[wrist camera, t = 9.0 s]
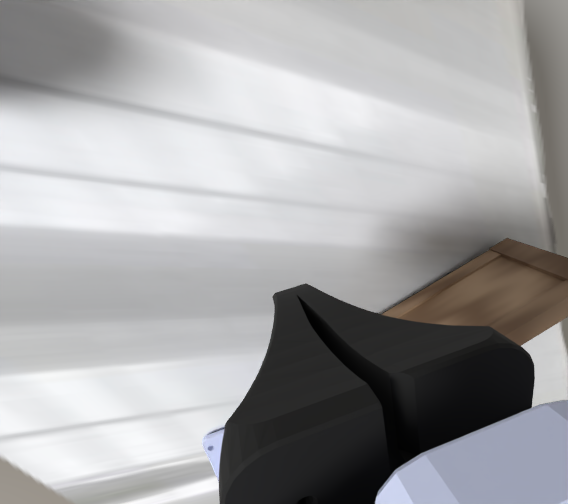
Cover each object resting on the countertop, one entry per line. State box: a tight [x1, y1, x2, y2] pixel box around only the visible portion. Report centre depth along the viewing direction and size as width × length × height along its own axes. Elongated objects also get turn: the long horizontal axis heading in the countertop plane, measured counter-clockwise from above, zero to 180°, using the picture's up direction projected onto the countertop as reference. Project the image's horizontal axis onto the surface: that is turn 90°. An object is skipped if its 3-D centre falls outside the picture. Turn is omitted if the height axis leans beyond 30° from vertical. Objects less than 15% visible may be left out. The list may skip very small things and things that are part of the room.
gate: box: [381, 238, 568, 346], centre depth 21 cm, size 15×2×7 cm, turn 117°
